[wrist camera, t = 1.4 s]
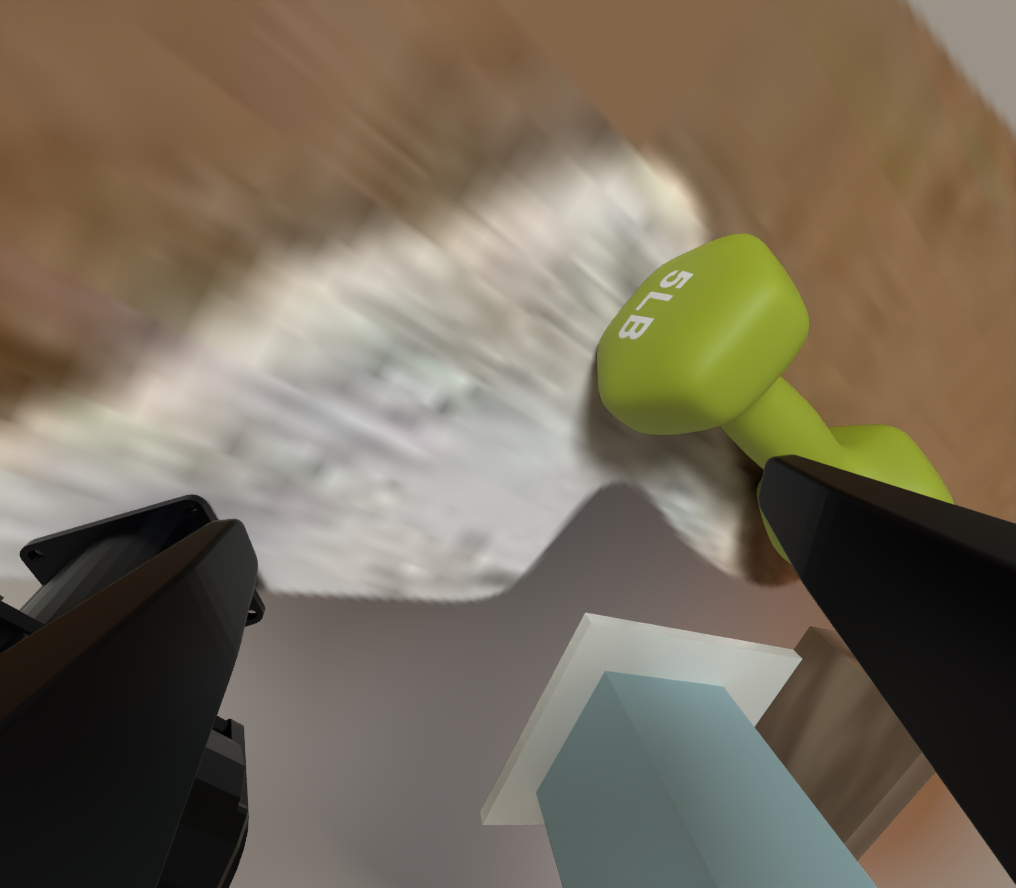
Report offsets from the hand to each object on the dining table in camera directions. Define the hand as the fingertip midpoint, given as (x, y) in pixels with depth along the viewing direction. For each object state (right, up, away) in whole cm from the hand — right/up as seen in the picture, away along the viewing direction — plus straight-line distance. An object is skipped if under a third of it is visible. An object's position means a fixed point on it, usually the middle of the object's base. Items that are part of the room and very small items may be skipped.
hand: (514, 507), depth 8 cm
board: (+17, -20, +27) cm, 38 cm away
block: (+8, -17, +22) cm, 29 cm away
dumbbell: (+10, +3, +16) cm, 19 cm away
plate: (+8, -17, +24) cm, 30 cm away
